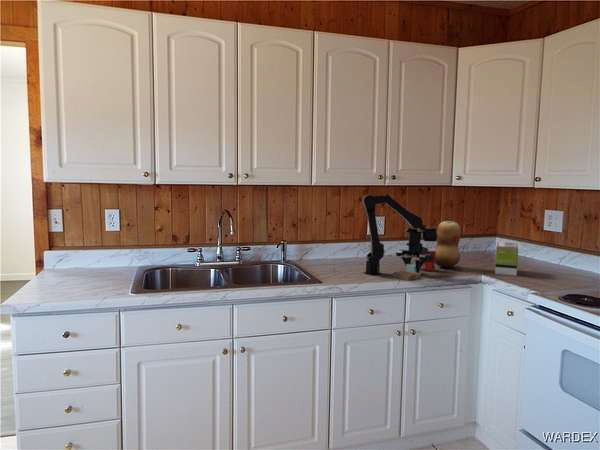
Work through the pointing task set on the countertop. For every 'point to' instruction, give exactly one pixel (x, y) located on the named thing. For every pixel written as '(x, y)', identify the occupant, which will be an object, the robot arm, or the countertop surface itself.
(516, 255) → the tea box
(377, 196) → the robot arm
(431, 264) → the canned food
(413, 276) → the walnut base
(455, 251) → the butternut squash
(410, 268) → the teal block
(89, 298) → the countertop surface
